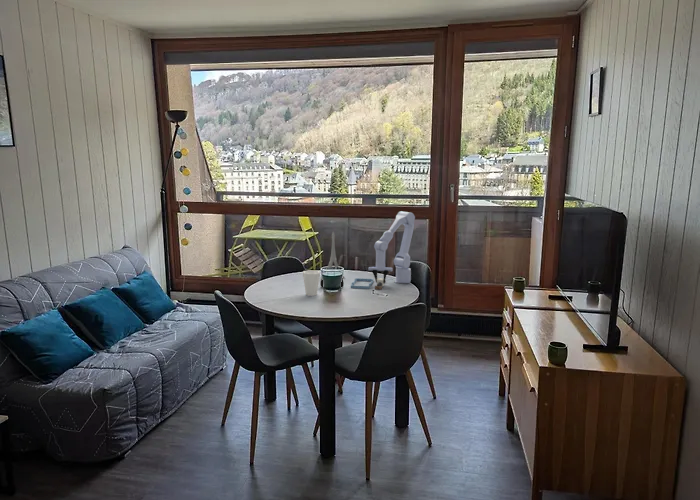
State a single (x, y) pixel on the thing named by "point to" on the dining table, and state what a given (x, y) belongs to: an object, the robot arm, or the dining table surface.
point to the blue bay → (362, 286)
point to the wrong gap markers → (378, 287)
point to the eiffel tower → (333, 253)
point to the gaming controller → (322, 283)
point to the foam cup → (311, 282)
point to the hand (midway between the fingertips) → (380, 282)
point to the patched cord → (380, 282)
